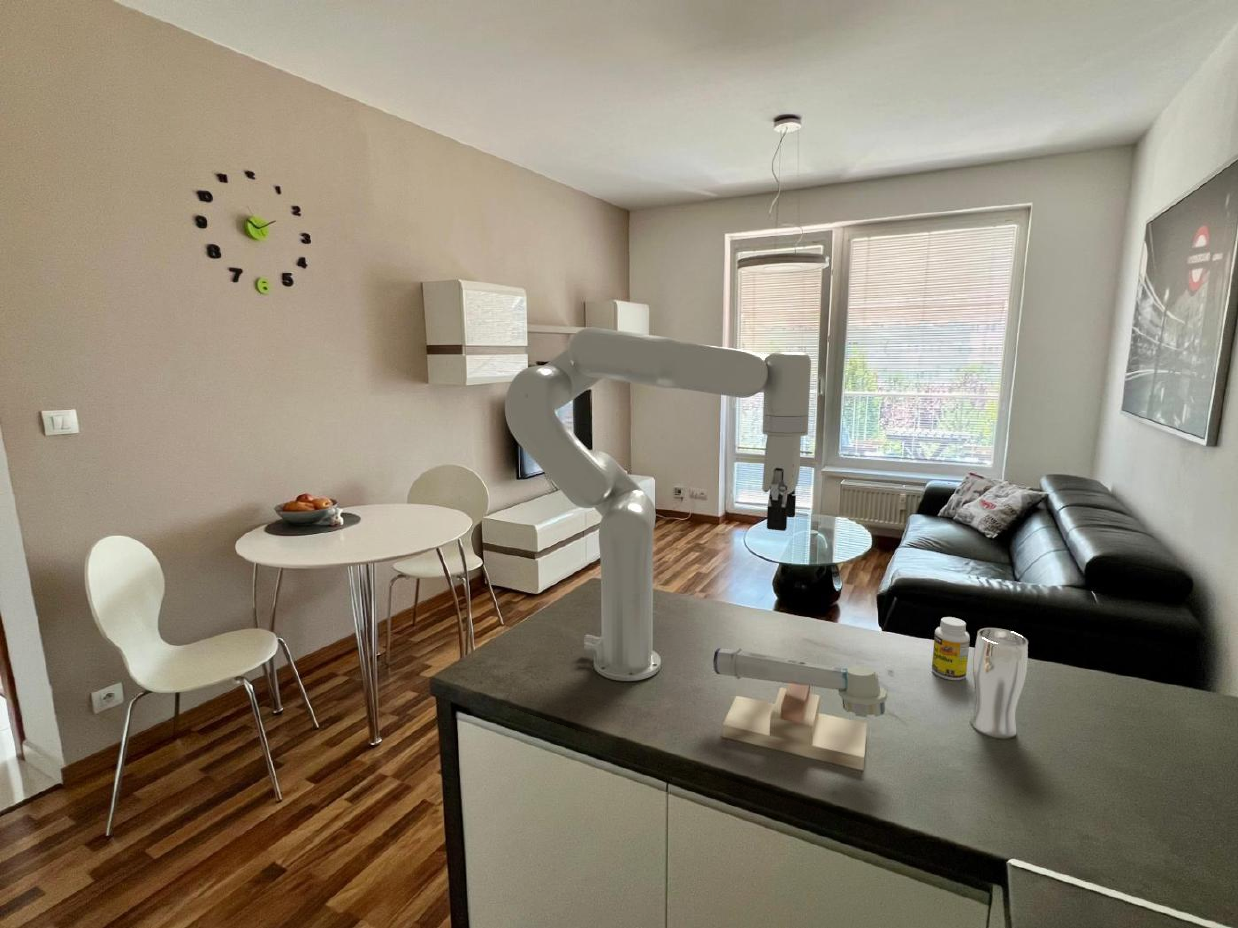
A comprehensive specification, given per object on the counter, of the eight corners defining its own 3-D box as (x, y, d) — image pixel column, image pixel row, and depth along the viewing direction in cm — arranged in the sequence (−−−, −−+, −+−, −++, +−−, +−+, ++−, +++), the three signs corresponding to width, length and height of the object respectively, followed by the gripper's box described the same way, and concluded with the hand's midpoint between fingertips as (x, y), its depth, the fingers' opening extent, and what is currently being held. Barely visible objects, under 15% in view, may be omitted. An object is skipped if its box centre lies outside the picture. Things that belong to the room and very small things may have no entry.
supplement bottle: (924, 670, 115) (928, 617, 113) (946, 664, 117) (950, 612, 115) (951, 684, 110) (955, 629, 108) (973, 678, 112) (978, 624, 110)
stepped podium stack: (722, 736, 95) (723, 694, 93) (736, 706, 103) (737, 667, 101) (863, 770, 87) (866, 724, 85) (866, 735, 95) (868, 692, 94)
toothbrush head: (722, 641, 102) (886, 658, 89) (727, 680, 102) (890, 703, 89) (710, 654, 97) (880, 674, 84) (714, 694, 98) (884, 721, 85)
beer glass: (1001, 745, 92) (1011, 650, 90) (957, 721, 98) (965, 632, 96) (1029, 732, 95) (1039, 640, 93) (985, 710, 101) (993, 623, 99)
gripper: (772, 420, 116) (768, 510, 118) (752, 429, 100) (749, 532, 103) (814, 421, 113) (809, 513, 115) (801, 431, 97) (796, 537, 100)
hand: (781, 522), depth 109 cm, fingers open, 9 cm apart
